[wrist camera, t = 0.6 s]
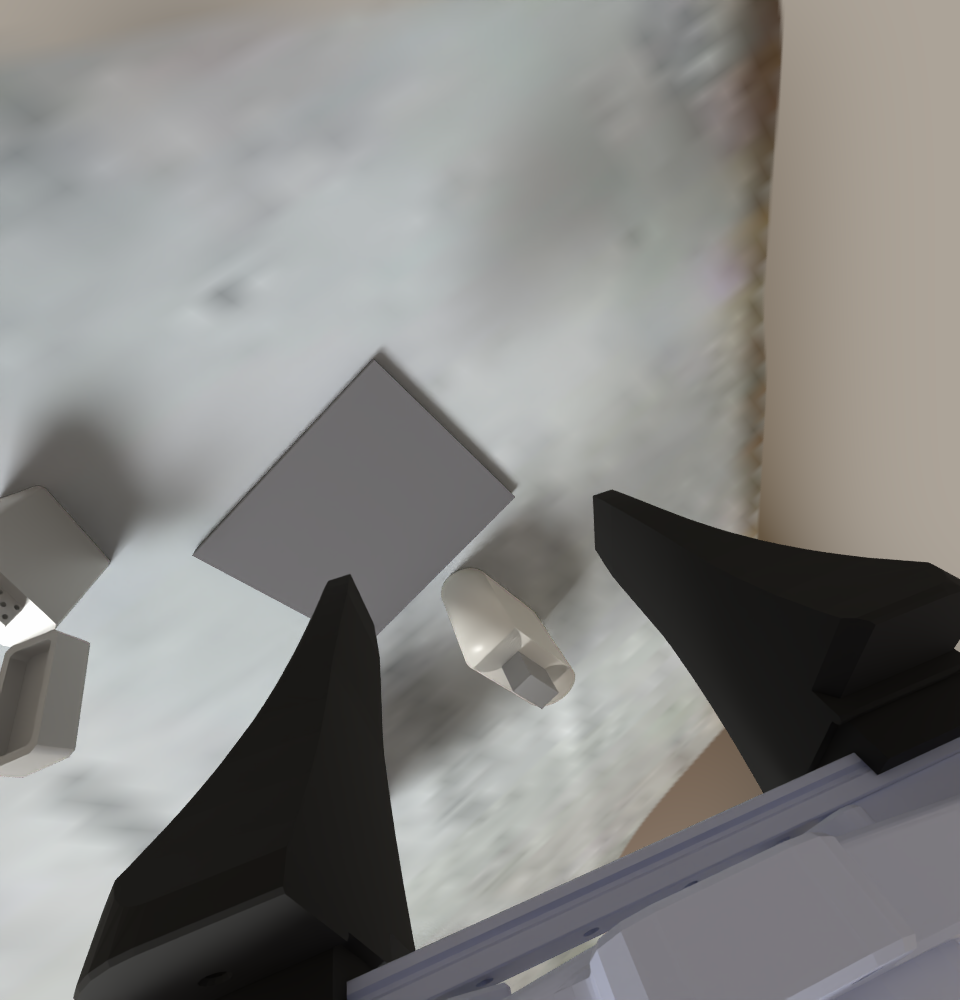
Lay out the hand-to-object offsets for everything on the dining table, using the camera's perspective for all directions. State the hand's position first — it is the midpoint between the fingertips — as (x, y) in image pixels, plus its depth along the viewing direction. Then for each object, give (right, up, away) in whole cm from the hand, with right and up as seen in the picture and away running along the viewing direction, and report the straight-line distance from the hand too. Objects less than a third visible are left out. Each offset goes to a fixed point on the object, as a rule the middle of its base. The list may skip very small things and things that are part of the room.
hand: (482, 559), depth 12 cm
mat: (-6, +1, +9) cm, 11 cm away
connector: (+1, -5, +14) cm, 15 cm away
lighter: (-17, -1, +6) cm, 18 cm away
